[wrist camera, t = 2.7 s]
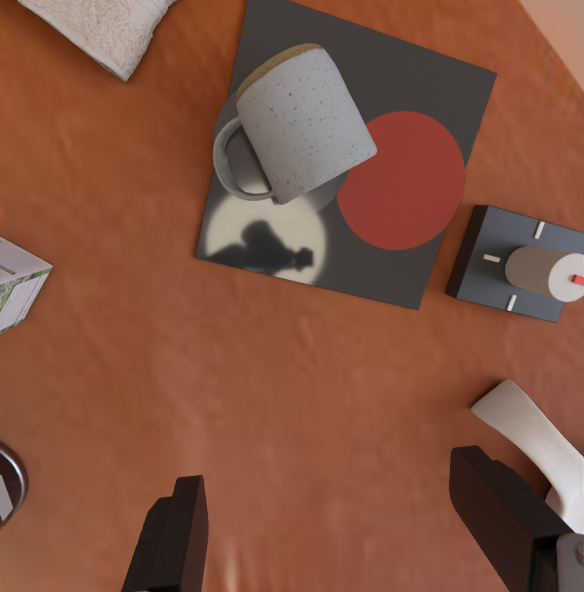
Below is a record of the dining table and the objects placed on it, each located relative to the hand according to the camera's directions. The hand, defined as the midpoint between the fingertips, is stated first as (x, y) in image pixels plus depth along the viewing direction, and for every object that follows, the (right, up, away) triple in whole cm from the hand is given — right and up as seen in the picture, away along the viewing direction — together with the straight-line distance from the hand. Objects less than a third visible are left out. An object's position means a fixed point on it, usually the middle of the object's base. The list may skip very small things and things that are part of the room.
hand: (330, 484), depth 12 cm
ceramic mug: (-2, +17, +18) cm, 25 cm away
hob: (+3, +16, +19) cm, 25 cm away
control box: (+18, +9, +23) cm, 30 cm away
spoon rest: (+25, -12, +28) cm, 40 cm away
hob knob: (+18, +8, +21) cm, 29 cm away
